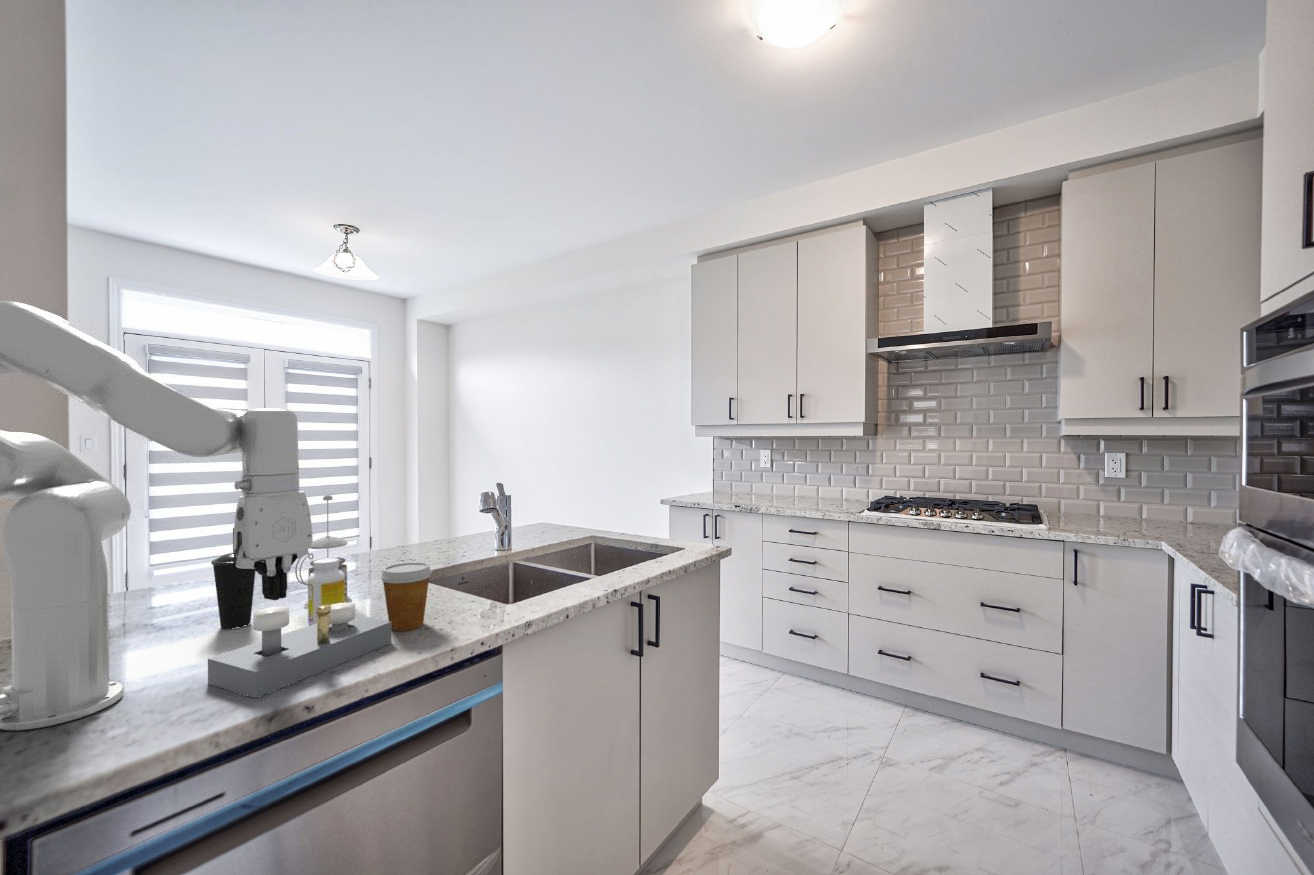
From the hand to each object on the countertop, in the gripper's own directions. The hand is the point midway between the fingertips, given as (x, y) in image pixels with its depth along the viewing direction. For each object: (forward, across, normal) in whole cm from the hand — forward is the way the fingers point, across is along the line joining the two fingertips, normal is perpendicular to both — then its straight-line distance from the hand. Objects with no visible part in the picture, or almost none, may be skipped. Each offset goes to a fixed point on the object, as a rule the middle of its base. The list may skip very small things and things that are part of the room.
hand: (275, 597), depth 91 cm
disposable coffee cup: (+13, +25, 0) cm, 29 cm away
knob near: (+9, 0, 0) cm, 9 cm away
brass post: (+9, +6, -4) cm, 11 cm away
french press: (+13, +28, +28) cm, 42 cm away
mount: (+13, +5, 0) cm, 14 cm away
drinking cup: (+13, +11, +32) cm, 36 cm away
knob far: (+11, +11, 0) cm, 16 cm away
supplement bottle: (+13, +20, +16) cm, 29 cm away
